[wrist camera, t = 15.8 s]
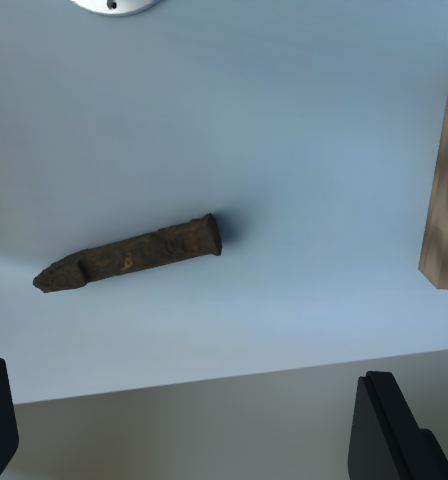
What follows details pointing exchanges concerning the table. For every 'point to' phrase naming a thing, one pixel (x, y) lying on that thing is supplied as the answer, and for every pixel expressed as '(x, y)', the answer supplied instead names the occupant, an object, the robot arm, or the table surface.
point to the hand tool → (133, 255)
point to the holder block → (437, 220)
